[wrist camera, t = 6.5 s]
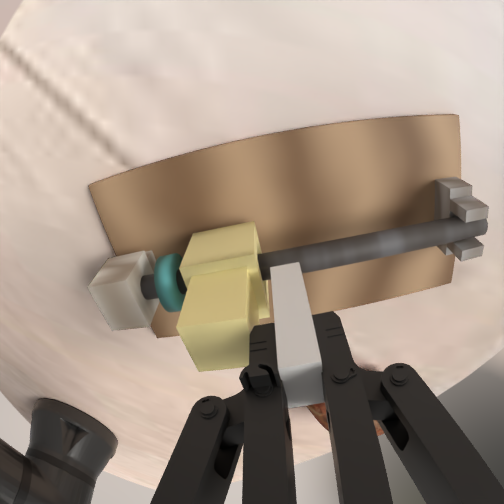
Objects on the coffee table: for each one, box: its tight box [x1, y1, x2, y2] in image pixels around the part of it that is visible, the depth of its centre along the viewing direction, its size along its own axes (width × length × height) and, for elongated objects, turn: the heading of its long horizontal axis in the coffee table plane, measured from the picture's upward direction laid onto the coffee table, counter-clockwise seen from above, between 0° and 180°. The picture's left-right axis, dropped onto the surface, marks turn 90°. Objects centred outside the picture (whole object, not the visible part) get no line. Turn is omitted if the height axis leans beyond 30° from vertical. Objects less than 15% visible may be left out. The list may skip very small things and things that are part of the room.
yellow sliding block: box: [176, 221, 270, 372], centre depth 17 cm, size 4×4×8 cm
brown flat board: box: [87, 114, 489, 338], centre depth 19 cm, size 26×14×5 cm, turn 102°
